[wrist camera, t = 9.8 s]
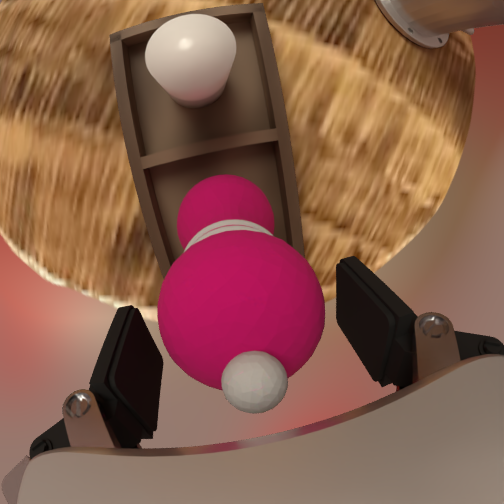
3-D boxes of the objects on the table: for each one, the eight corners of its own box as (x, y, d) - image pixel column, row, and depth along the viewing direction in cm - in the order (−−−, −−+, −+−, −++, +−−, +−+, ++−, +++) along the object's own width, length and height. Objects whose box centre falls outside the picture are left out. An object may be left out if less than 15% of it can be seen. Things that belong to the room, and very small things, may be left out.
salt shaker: (220, 52, 18) (228, 7, 10) (230, 102, 20) (243, 80, 12) (163, 64, 18) (140, 26, 10) (172, 114, 20) (151, 99, 12)
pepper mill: (227, 261, 26) (263, 471, 8) (167, 215, 24) (76, 407, 5) (279, 204, 25) (425, 361, 6) (219, 152, 22) (247, 189, 4)
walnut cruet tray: (256, 16, 18) (262, 3, 15) (296, 256, 28) (305, 268, 25) (119, 44, 17) (109, 34, 14) (174, 283, 27) (171, 298, 24)
